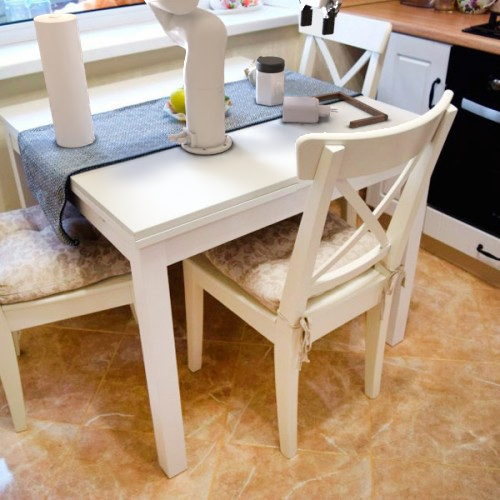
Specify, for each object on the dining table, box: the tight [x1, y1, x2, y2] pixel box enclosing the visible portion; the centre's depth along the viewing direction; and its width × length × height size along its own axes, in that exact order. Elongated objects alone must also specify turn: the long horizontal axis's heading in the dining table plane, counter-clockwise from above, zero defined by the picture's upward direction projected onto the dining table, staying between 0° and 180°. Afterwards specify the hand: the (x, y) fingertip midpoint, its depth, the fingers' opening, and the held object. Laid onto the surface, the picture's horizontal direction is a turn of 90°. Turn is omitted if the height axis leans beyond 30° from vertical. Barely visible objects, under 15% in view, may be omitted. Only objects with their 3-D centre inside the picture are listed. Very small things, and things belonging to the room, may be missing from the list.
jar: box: [255, 55, 286, 107], centre depth 171 cm, size 9×8×12 cm
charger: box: [282, 96, 339, 124], centre depth 162 cm, size 5×9×15 cm
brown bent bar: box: [311, 90, 389, 129], centre depth 167 cm, size 12×22×2 cm, turn 29°
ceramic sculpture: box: [243, 55, 263, 88], centre depth 186 cm, size 11×9×15 cm
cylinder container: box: [33, 12, 96, 149], centre depth 141 cm, size 9×9×30 cm
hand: (316, 30), depth 148 cm, fingers open, 9 cm apart
